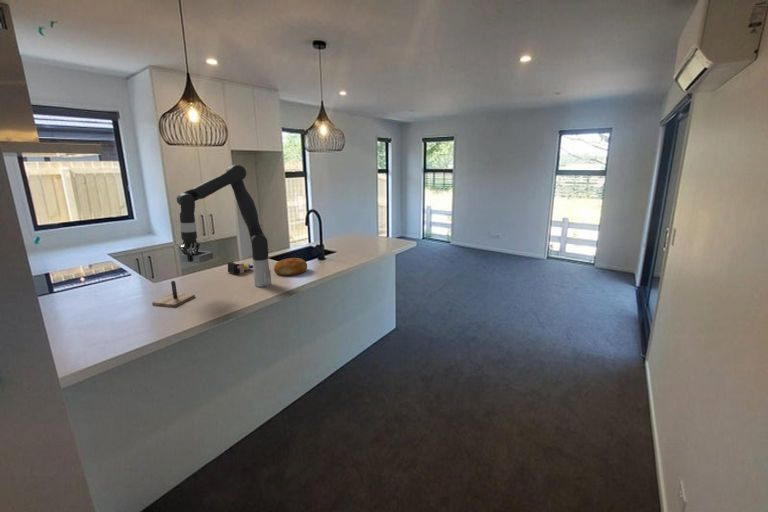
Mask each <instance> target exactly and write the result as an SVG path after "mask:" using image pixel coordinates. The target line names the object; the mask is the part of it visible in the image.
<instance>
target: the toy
mask: <svg viewBox="0 0 768 512" xmlns="http://www.w3.org/2000/svg"><path fill="white" fill-rule="evenodd" d="M250 269H253V264H249V263H244V262H240V261H228V262H227V272H228V273H229V274H231V275H238V274H244V273H245V271H248V270H250Z"/></svg>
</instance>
